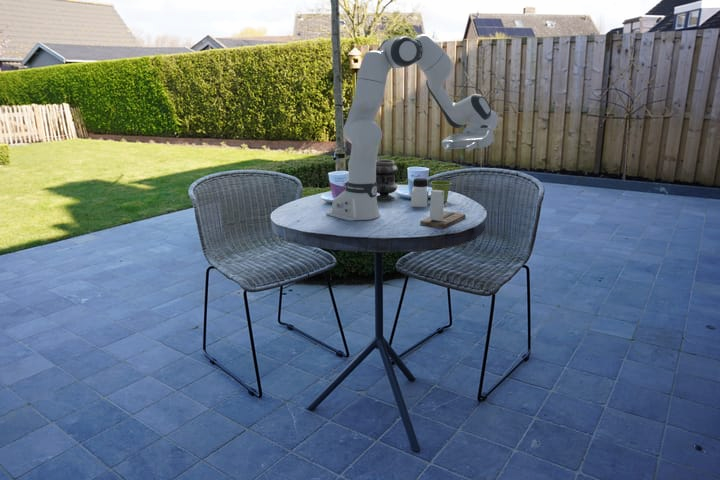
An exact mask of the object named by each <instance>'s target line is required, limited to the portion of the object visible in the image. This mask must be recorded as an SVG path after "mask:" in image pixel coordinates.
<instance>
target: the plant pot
mask: <svg viewBox="0 0 720 480" xmlns="http://www.w3.org/2000/svg"><path fill="white" fill-rule="evenodd" d="M430 184H431V185H430V186H431V191H432V190H442V191H444V203H447V201H448V197H449V192H450V188H451V185H452V182H451V181H447V180H434V181H431V182H430Z"/></svg>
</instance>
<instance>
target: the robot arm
mask: <svg viewBox="0 0 720 480" xmlns="http://www.w3.org/2000/svg"><path fill="white" fill-rule="evenodd" d="M413 64H415V65H416V66H418V67H419V69H420V70H421V71H422V73H423V74H424V75H425V77H426V88H427V90H428V91H429V93H430V94H431V95H430V96H432V98H433V99H434V101H435V102H436V104H437V106H438V107H439V109H440V110H441V112H442V114H443V115H444V118H445V120H446V122H447V124H448V125H449V126H450V127H452V128H454V129H461V128H462V127H464V126H466V127H464V128H463V130H462V132H461V133H453V134H449V136H447V137H445V138H444V139H442V141H441V145H442V146H441V147H442V148H443V150H444V151H445V153H450V152H451V151H452V150H457V149H459V150H460V149H465V151H466V152H470V151H472V150H474V149H477V148H480V149H481V148H486V147H487V148H488V147H489V146H490V145H491V144H492V143H494V142H495V135H494V131H495V129H496V128H497V126H498V123H499V116H498V114H497V113H496V112H495V110H493V109H491V106H490V102H488V100H487V98H486V97H484V96H483V95H481V94H480V93H479V94H478V93H473V94H471V95H469V96H467V97H465V98H464V99H461V100H459V101H458V102H453V100H452V99H451V98H450V96H449V94H448V93H447V91H446V90H445V87H444V84H445V82H446V81H447V80H448V78H449V76H450V75H451V72H452V70H453V61H452V59H451V58H450V56H449V55H448V53H447V52H446V51H445V49H444V48H442V46H441V45H440V44H439V43H438V42H437V41H436V40H434V39H433V38H432V37H430V35H428V34H426V33H422V34H418V35H417V36H415V37H414V38H413V37H410V36H408V35H407V36H406V35H403V36H394V37H391V38H389V39H386V40H384V41H383V42H382V43H381V44H380V46H379V47H378V48H377V50H368V51H366V53H365V54H364V55H363V58H362V60H361V63H360V65H359V70H358V73H357V78H356V84H355V89H354V95H353V98H352V103H351V106H350V109H349V111H348V115H347V118H346V122H345V124H344V126H343V129H342V130H343V135H344V137H345V139H346V141H347V142H348V143H350V144H351V148H350V156H349V159H348V162H347V163H348V164H347V165H348V167H347V168H348V169H347V170H348V172H347V174H348V178H347V179H348V181H347V182H345V183H343V185H342V186H343V187H345V189H344V190H343V191H342V192H341V193H340V194H339V195H337V196H336V197H335V198H334V199H333V200H332V205H331V209H328V210H327V211H326V215H328V216H331V217H334V218H338V219H340V220H341V219H342V220H345V221H349V222H351V221H364V220H365V221H367V220H368V221H369V220H374V219H378V218H379V217H380V216H381V213H380V210H379V206H378V200H377V196H378V195H377V194H378V193H377V181H376V160H378V159H377V158H378V154H379V149H380V143H381V142H382V138H383V131H382V129H381V127H380V125H379V124H378V123H377V122H376V121H375V120H376V117H377V116H378V112H379V110H380V108H381V107H382V105H383V101H384V100H383V99H384V96H385V95H384V94H385V90H386V85H387V84H386V83H387V78H388V77H387V76H388V74H389V72H390V71H391V70H392V68H395V69H400V68H401V69H402V68H406V67H407V68H408V67H409V66H412V65H413ZM468 123H469V124H468Z"/></svg>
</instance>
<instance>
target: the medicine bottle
mask: <svg viewBox="0 0 720 480" xmlns="http://www.w3.org/2000/svg"><path fill="white" fill-rule="evenodd" d="M412 183H413V187H412V189H411V201H410V204H411V205H410V206H411V207H412V208H413V207H414V208H416V207H417V208H427V207H428V206H429V188H428V179H427V178H425V177H416V178H414V179H413V182H412Z"/></svg>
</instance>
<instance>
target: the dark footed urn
mask: <svg viewBox="0 0 720 480" xmlns="http://www.w3.org/2000/svg"><path fill="white" fill-rule="evenodd" d="M397 172H398V167H397V165H395V160H392V159H377V160H376V181H377V194H378V195H376V196H377V202H378V201H380V202H388V201H389V202H391V201H394V200H395V197H394V196H392V195H391V194H393V193H394V192H396V191H397V189H398V185H397V183H396V182H395V181H396V177H395V176H396V173H397Z"/></svg>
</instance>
